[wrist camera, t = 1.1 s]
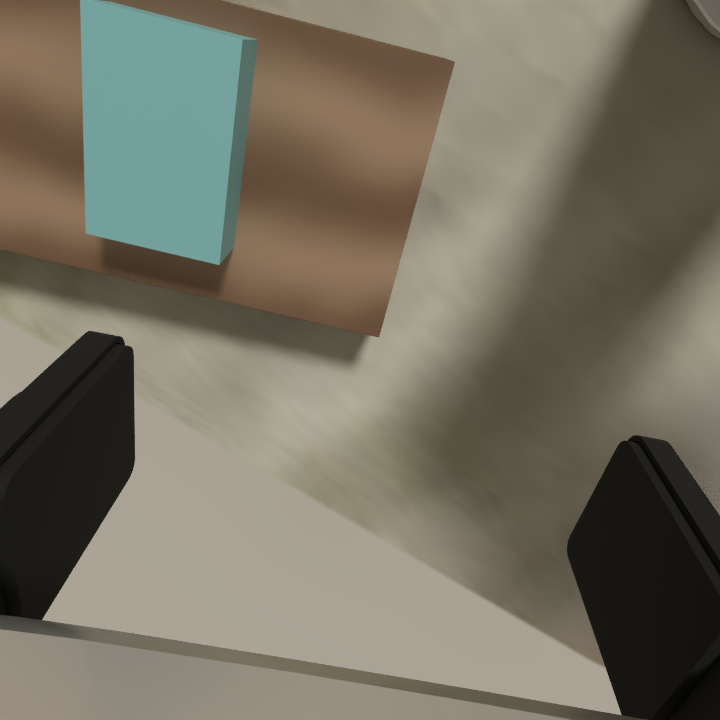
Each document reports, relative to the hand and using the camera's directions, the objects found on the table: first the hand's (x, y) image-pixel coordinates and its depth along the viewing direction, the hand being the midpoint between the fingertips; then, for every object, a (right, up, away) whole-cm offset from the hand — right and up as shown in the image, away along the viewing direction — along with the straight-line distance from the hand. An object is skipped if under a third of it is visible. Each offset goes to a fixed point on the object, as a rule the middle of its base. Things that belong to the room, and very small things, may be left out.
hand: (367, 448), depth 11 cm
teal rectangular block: (-8, +12, +14) cm, 20 cm away
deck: (-8, +13, +18) cm, 24 cm away
